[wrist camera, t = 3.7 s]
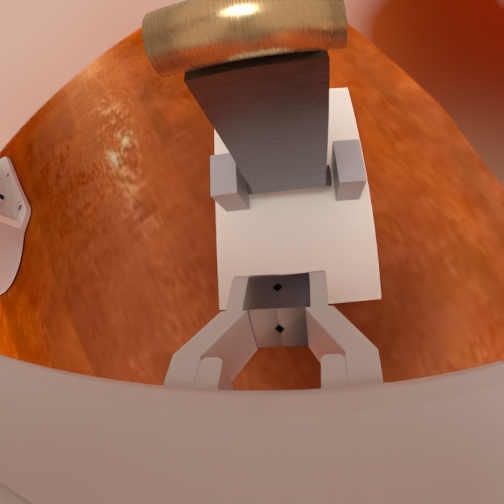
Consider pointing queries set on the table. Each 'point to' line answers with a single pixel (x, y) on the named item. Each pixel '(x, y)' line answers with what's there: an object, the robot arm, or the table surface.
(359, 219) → the white rectangular block
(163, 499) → the robot arm
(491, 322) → the table surface
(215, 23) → the lever
